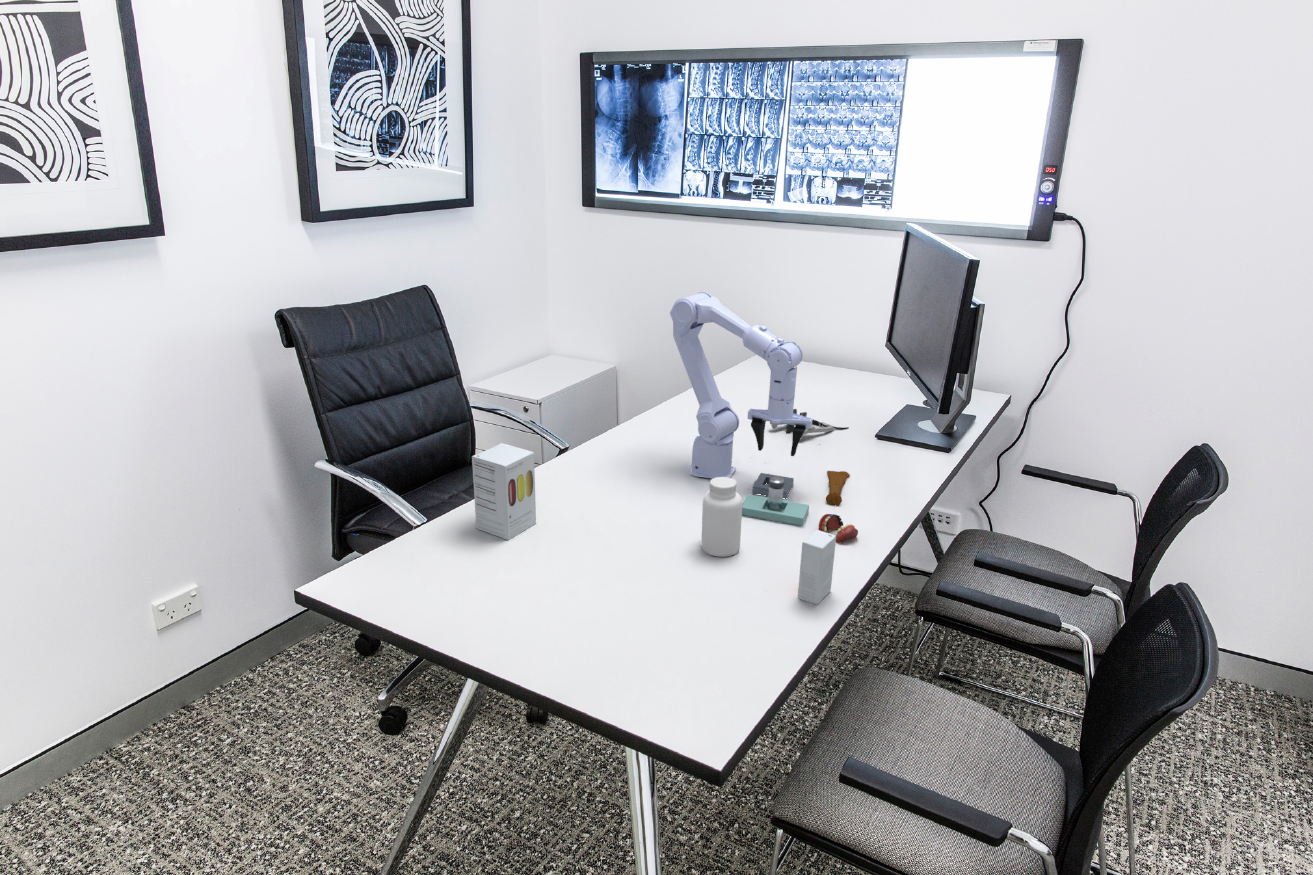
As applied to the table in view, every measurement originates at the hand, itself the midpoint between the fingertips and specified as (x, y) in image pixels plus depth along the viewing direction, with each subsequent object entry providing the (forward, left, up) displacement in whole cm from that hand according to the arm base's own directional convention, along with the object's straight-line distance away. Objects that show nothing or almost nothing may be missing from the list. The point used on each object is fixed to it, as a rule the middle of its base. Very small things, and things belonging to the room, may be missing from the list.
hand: (776, 451), depth 196 cm
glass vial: (+3, -12, -10) cm, 15 cm away
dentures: (+17, -16, -10) cm, 26 cm away
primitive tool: (+13, +7, -11) cm, 18 cm away
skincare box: (+17, -41, -10) cm, 45 cm away
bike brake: (0, +42, -10) cm, 43 cm away
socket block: (0, 0, -10) cm, 10 cm away
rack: (+3, -12, -10) cm, 16 cm away
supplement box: (-49, -39, -10) cm, 64 cm away
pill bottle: (-4, -31, -10) cm, 33 cm away
